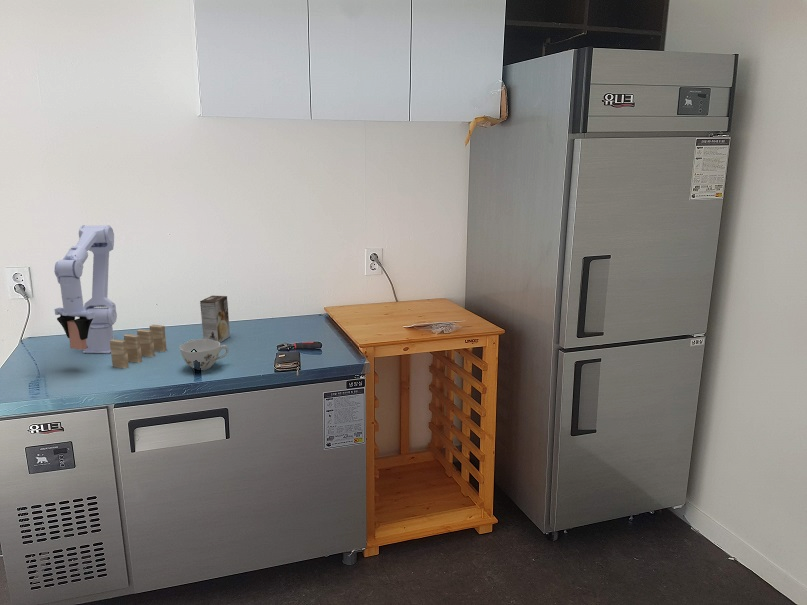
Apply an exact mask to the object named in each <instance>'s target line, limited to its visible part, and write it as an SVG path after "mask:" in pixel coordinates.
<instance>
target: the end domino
mask: <svg viewBox="0 0 807 605" xmlns="http://www.w3.org/2000/svg"><path fill="white" fill-rule="evenodd" d="M67 324H68V332H69V338H68V340H69V345H70V347H69V348H70V349H75V350H80V351H84V349H87V344H86V339H84V340H81V339H80V336H79V331H78V328H77V325H76V324H75V322H74V320H70V321H67Z"/></svg>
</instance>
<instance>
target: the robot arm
mask: <svg viewBox="0 0 807 605" xmlns="http://www.w3.org/2000/svg"><path fill="white" fill-rule="evenodd" d="M114 232H115V231H114V229H113V228H112V226H111V225H109V224H108V225H107V224H106V225H84V224H83V225H81V226H80V227H79V229H78V241H77V243H76V245H72V246H71V247H70V248H69V249H68V251H67V253H66V254H65V255H64V257H63V258H62V259H59V260H58V261H56V262H55V264H54V275H55V276H56V280H57V283H58V284H59V287H60V294H61V300H62V307H57V308H54V310H53V311H54V314H55V316H59V317H56V320H57V322H59V324H60V326H62V329H63V330H64V333H65V335H66V337H67V338H68V339H69V332H68V324H67V321H70V320H74V322H75V324H76V325H77V328H78V331H79V336H80V339H81V340H84V339H86V344H87V349H84V350H82V353H83V354H110V353H111V347H110V340H113V339H115V338H114V337H115V336H114V331H113V325H115V323H116V322H117V319H118V318H117V316H118V314H117V308H116V304H115V303H114V302H113V301H112V300H111V299H109V298H108V294H109V293H108V290H109V263H110V262H109V261H110V260H109V258H110V252H111V251H113V250H114V246H115V233H114ZM88 251H90V252H92V254H93V260H92V262H93V264H92V265H93V266H92V282H91V283H92V286H91V298H90V299H88V300H87V301H86V302H84V300H83V293H82V292H83V291H82V283H81V277H82V276H83V270H84V264H85V262H86V261H87V259H88V258H89V253H88Z"/></svg>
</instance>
